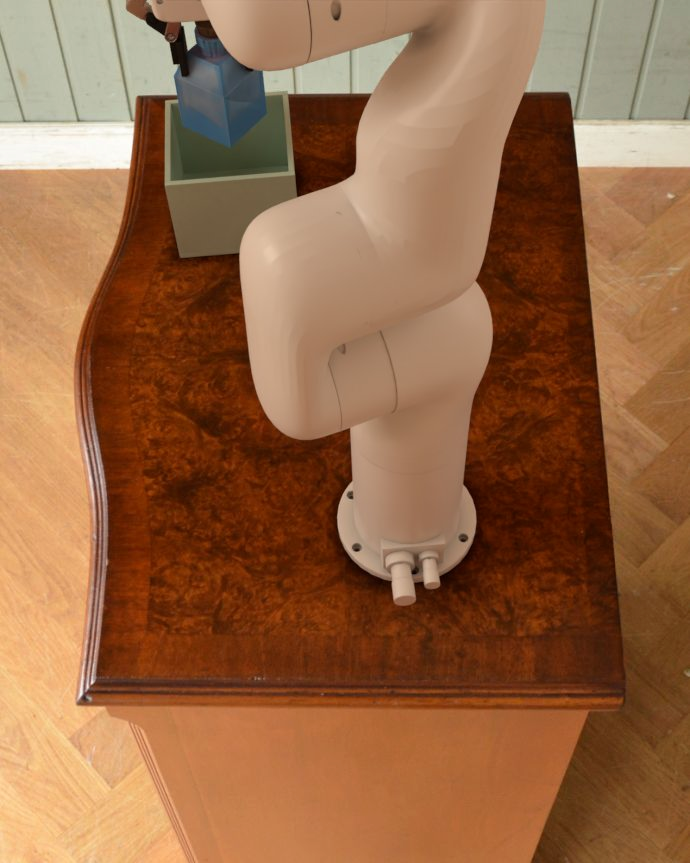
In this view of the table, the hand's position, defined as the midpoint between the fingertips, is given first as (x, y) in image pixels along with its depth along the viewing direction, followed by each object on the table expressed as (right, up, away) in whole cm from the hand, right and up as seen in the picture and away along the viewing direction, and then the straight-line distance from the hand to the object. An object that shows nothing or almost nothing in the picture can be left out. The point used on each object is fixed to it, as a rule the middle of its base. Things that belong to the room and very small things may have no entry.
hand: (217, 63), depth 112 cm
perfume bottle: (0, -4, +6) cm, 7 cm away
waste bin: (+1, -11, +16) cm, 20 cm away
